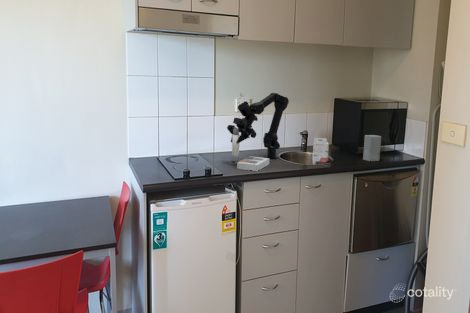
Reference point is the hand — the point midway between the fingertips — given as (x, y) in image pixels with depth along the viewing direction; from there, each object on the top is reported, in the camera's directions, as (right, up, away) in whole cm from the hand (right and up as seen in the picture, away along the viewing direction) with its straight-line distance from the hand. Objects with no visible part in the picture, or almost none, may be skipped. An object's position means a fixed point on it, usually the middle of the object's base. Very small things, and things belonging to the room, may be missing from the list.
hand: (234, 142), depth 242 cm
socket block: (+12, -14, +2) cm, 18 cm away
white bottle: (+1, -7, +3) cm, 8 cm away
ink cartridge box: (+53, -11, +22) cm, 58 cm away
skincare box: (+86, -10, +28) cm, 91 cm away
